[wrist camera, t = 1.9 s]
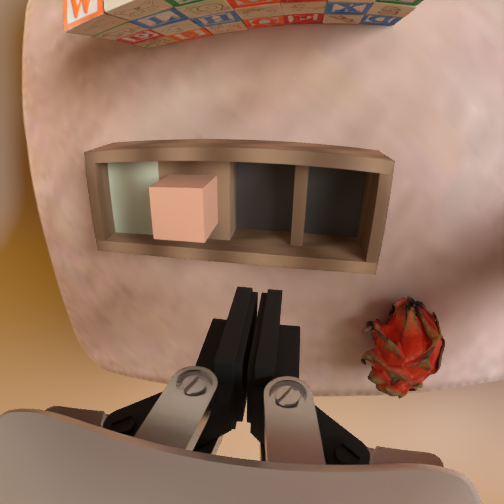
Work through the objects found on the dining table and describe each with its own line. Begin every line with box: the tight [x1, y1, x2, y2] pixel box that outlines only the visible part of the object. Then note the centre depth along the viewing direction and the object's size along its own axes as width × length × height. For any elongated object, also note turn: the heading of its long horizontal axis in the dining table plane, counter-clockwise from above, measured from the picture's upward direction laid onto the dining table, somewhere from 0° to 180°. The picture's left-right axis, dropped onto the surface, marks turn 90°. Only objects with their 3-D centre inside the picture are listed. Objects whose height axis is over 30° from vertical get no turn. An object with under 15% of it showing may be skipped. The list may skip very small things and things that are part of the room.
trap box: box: [84, 139, 395, 274], centre depth 26 cm, size 24×9×5 cm, turn 89°
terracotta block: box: [149, 174, 218, 243], centre depth 24 cm, size 4×4×4 cm
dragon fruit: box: [361, 297, 445, 398], centre depth 29 cm, size 8×8×12 cm
